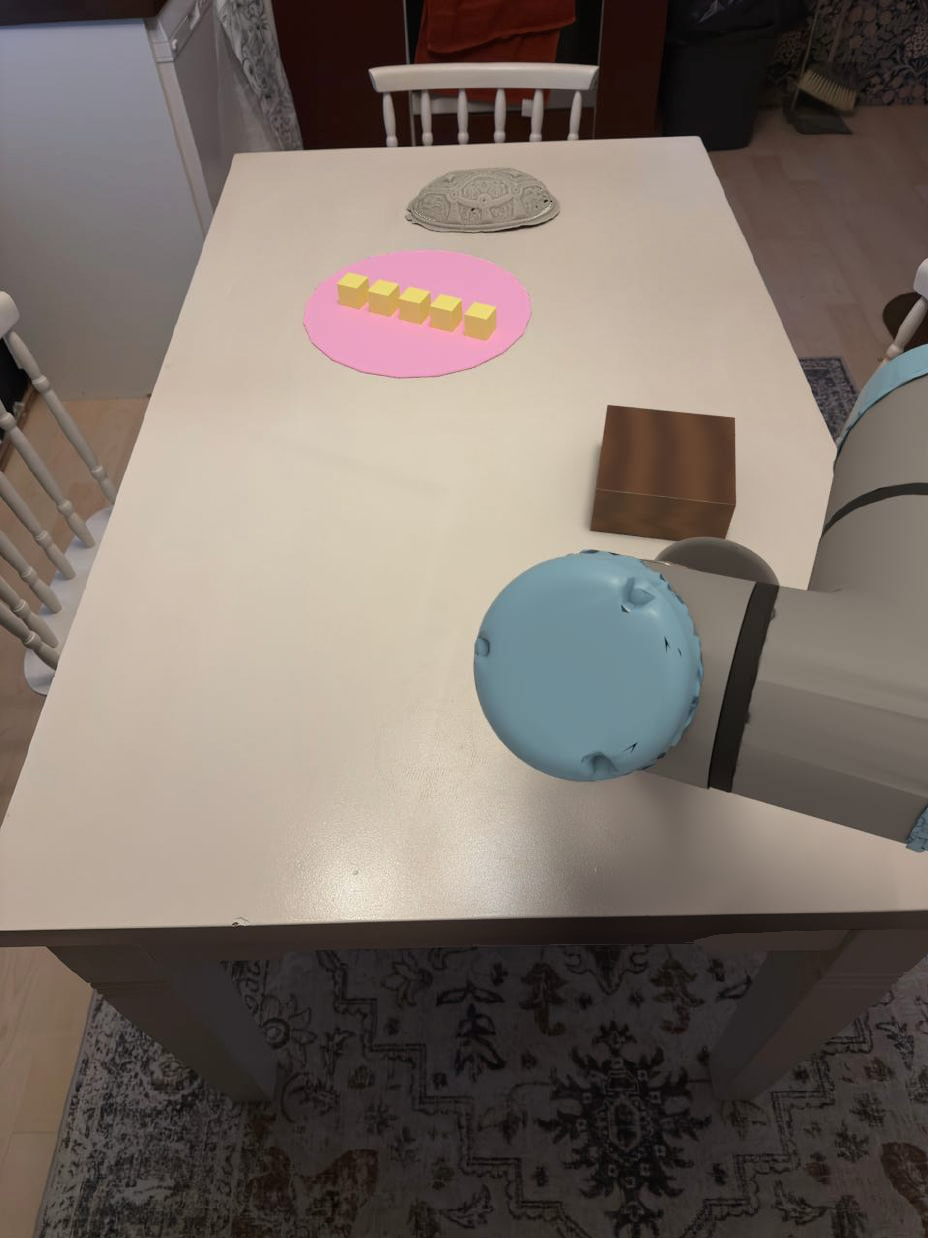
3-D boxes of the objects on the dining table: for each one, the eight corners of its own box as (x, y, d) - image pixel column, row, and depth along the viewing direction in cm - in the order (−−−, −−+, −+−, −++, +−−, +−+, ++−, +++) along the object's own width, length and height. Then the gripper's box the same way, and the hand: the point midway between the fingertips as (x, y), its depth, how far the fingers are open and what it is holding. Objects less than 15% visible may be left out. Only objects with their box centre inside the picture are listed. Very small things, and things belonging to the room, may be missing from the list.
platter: (474, 402, 104) (473, 379, 101) (258, 344, 113) (253, 321, 110) (564, 276, 121) (566, 253, 119) (372, 234, 130) (370, 212, 128)
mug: (630, 611, 66) (653, 526, 59) (743, 629, 65) (781, 545, 58) (617, 741, 59) (641, 662, 51) (744, 763, 58) (787, 687, 50)
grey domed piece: (566, 225, 129) (566, 178, 124) (406, 240, 130) (400, 194, 125) (555, 189, 140) (555, 145, 135) (407, 203, 141) (402, 160, 136)
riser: (723, 459, 96) (735, 417, 92) (722, 546, 88) (736, 505, 83) (601, 446, 98) (607, 404, 94) (590, 530, 90) (595, 489, 85)
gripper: (437, 624, 45) (556, 610, 65) (845, 811, 37) (832, 729, 58) (485, 490, 43) (591, 520, 64) (920, 658, 36) (879, 629, 57)
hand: (706, 619), depth 61 cm, fingers closed on mug, 9 cm apart
